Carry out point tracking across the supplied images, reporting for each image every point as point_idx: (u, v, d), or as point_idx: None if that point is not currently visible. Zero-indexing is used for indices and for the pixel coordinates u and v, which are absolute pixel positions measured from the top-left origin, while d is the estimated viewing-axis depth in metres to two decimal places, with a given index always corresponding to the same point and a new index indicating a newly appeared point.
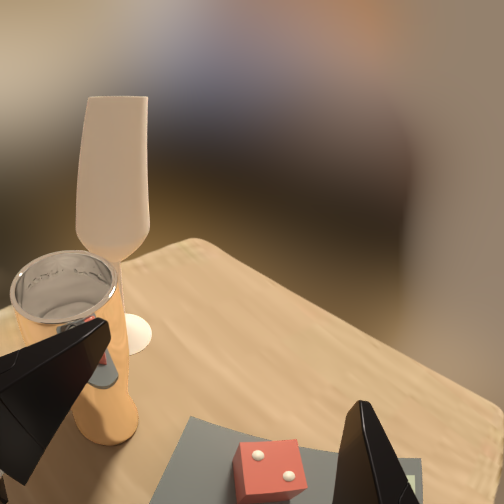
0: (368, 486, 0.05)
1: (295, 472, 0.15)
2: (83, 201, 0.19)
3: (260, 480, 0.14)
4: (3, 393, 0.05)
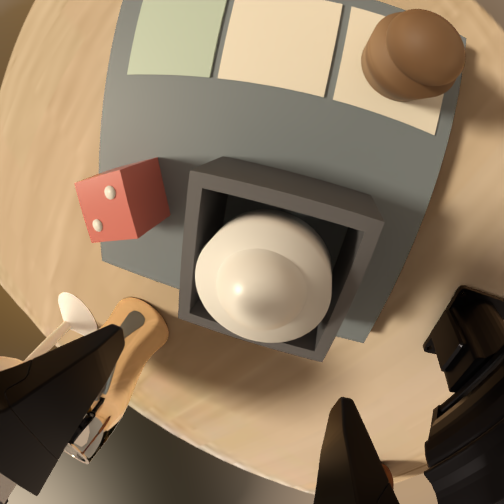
0: (346, 485, 0.05)
1: (105, 184, 0.15)
2: None
3: (120, 223, 0.16)
4: (16, 405, 0.05)
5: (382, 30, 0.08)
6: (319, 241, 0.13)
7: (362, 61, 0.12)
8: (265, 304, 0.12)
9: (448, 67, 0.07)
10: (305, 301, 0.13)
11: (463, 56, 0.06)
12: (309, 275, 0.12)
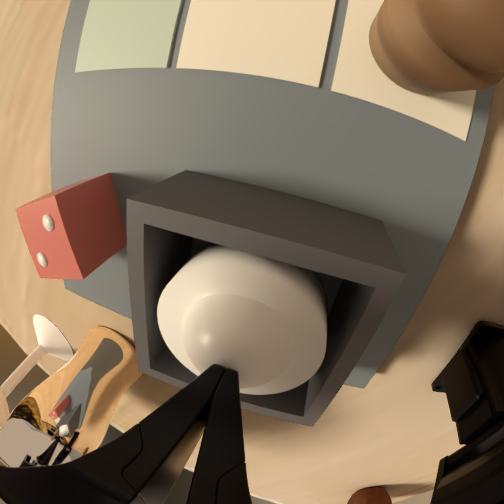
0: None
1: (42, 213, 0.11)
2: None
3: (63, 260, 0.12)
4: (139, 486, 0.04)
5: None
6: (312, 280, 0.10)
7: (371, 38, 0.08)
8: (239, 366, 0.09)
9: None
10: (293, 355, 0.10)
11: None
12: (297, 327, 0.09)
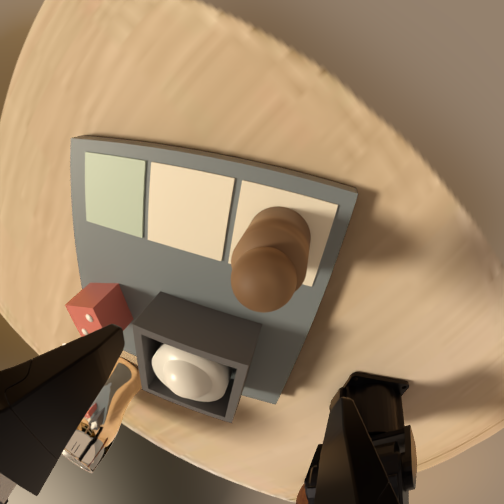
0: (347, 485, 0.05)
1: (85, 313, 0.22)
2: None
3: None
4: (16, 405, 0.05)
5: (239, 251, 0.15)
6: None
7: None
8: (185, 390, 0.20)
9: (267, 311, 0.14)
10: (212, 385, 0.21)
11: (284, 299, 0.13)
12: (210, 375, 0.21)
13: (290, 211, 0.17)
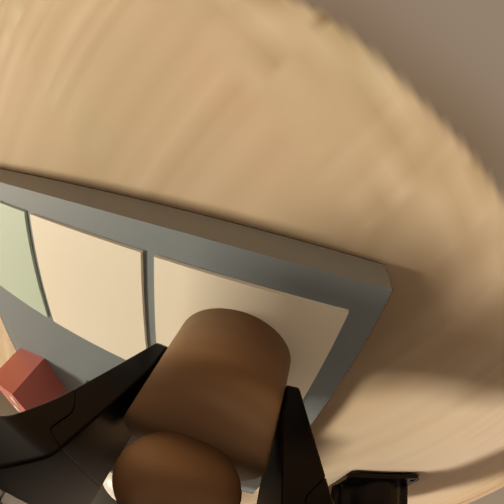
0: (278, 475, 0.05)
1: (9, 394, 0.13)
2: None
3: None
4: (65, 443, 0.04)
5: (135, 421, 0.06)
6: None
7: None
8: None
9: None
10: None
11: None
12: None
13: (249, 322, 0.08)
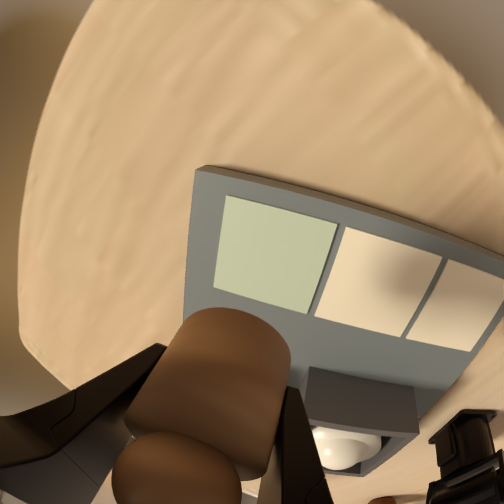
0: (278, 475, 0.05)
1: None
2: None
3: None
4: (65, 444, 0.04)
5: (134, 421, 0.06)
6: None
7: None
8: (346, 465, 0.16)
9: None
10: (364, 452, 0.17)
11: None
12: (370, 445, 0.17)
13: (249, 322, 0.08)
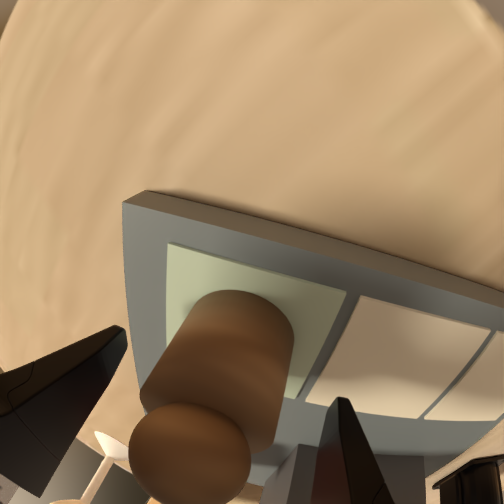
0: (342, 484, 0.05)
1: None
2: None
3: None
4: (19, 408, 0.05)
5: (150, 394, 0.07)
6: None
7: None
8: None
9: None
10: None
11: None
12: None
13: (256, 302, 0.09)
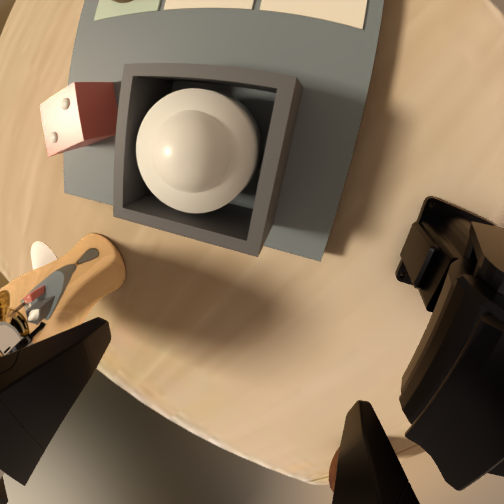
0: (368, 486, 0.05)
1: (62, 98, 0.14)
2: None
3: (71, 130, 0.15)
4: (3, 393, 0.05)
5: None
6: (243, 107, 0.13)
7: None
8: (185, 147, 0.12)
9: None
10: (230, 156, 0.13)
11: None
12: (230, 128, 0.13)
13: None
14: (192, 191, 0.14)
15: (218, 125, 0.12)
